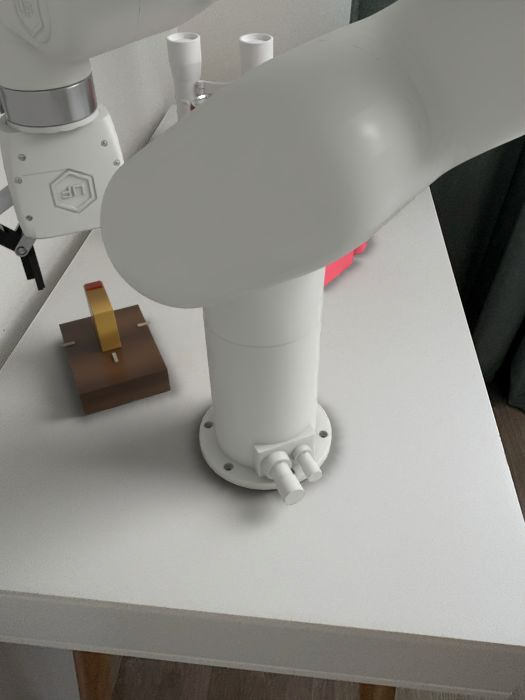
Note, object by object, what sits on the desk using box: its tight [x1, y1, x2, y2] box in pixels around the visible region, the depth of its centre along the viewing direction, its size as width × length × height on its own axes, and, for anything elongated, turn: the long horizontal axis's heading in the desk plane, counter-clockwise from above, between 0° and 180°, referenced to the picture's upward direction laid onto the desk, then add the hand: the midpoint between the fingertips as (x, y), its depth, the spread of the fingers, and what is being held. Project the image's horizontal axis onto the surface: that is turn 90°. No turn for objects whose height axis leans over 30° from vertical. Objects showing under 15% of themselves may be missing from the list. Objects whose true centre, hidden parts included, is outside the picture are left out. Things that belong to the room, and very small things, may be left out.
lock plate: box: [58, 304, 172, 416], centre depth 68 cm, size 13×10×3 cm
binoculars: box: [165, 31, 274, 122], centre depth 106 cm, size 17×5×18 cm, turn 83°
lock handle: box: [82, 280, 121, 352], centre depth 66 cm, size 6×2×5 cm, turn 23°
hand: (89, 271), depth 63 cm, fingers open, 9 cm apart
